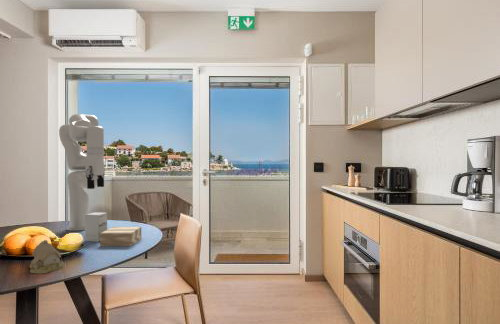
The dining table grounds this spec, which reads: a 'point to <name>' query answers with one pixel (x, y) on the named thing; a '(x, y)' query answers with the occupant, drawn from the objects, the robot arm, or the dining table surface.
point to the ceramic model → (45, 259)
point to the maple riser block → (120, 236)
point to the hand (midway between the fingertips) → (95, 187)
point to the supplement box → (95, 226)
